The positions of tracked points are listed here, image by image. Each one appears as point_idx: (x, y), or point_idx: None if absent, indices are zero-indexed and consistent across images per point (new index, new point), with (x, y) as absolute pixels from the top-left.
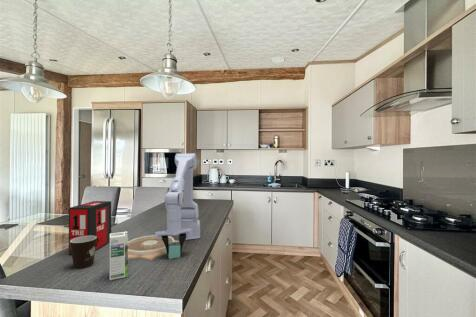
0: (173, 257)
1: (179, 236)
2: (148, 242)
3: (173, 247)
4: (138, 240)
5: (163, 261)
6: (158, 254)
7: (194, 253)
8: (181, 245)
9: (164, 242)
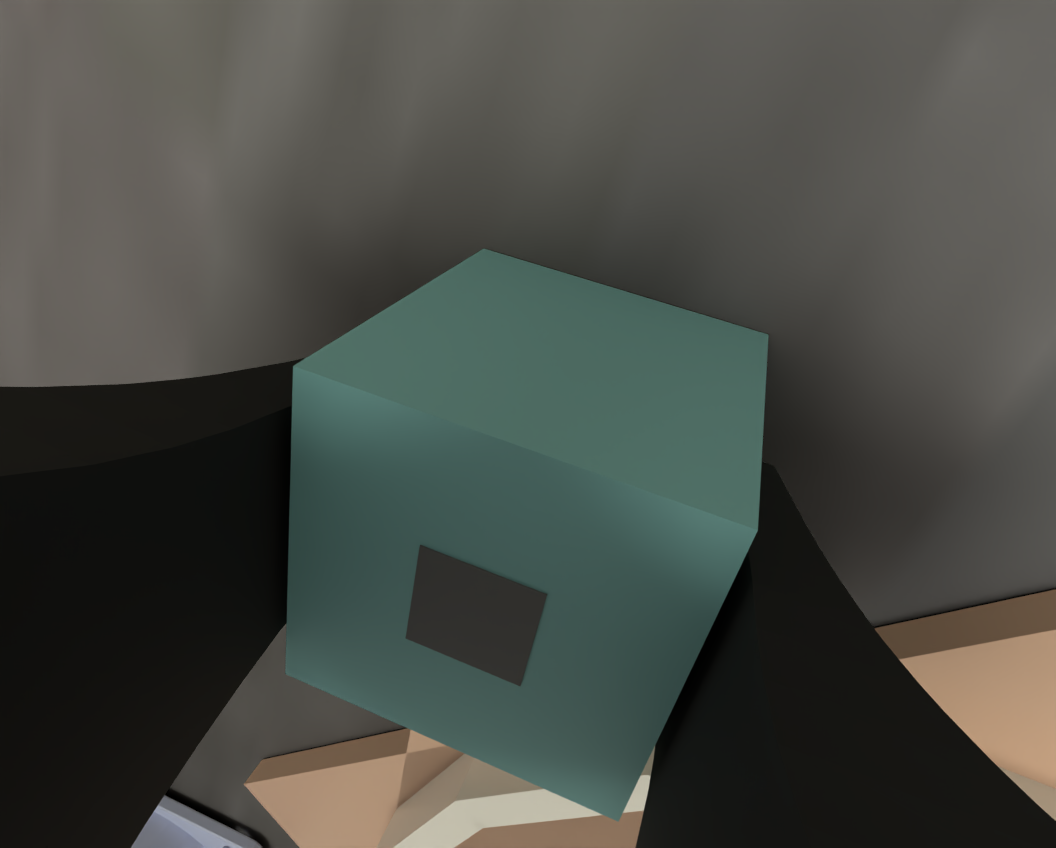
0: (647, 303)
1: (97, 796)
2: None
3: (575, 433)
4: None
5: (992, 270)
6: (907, 669)
7: (157, 247)
8: (266, 386)
9: (1048, 832)
